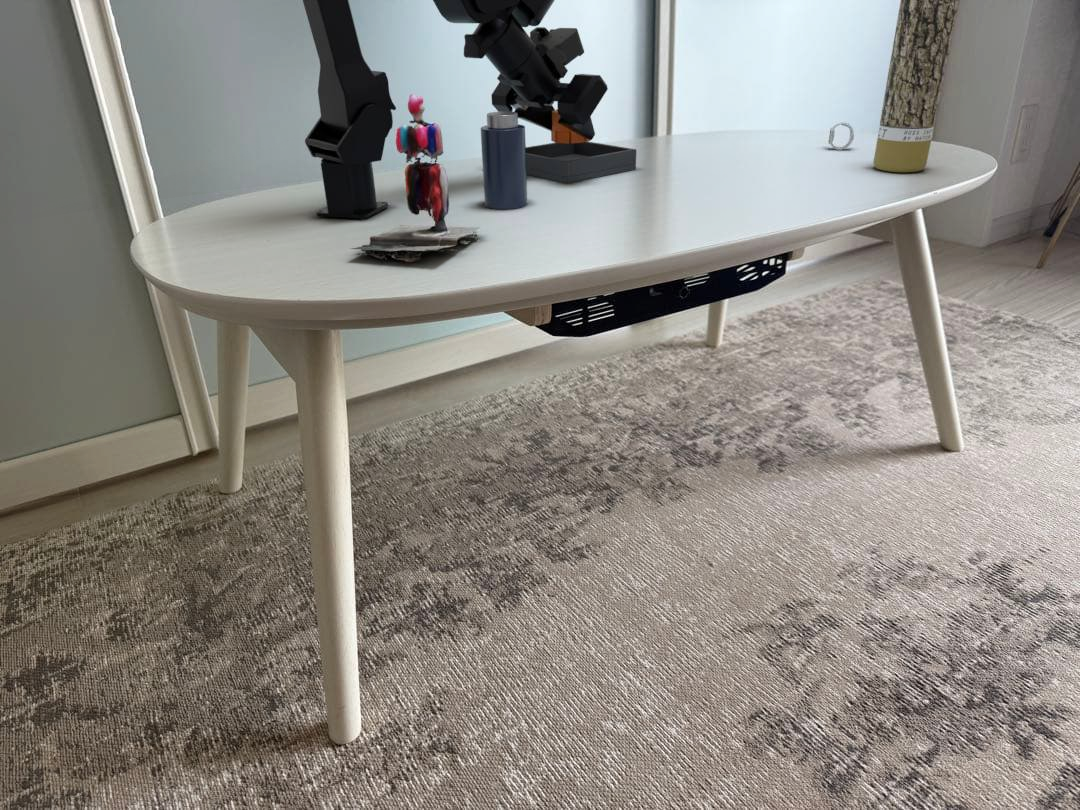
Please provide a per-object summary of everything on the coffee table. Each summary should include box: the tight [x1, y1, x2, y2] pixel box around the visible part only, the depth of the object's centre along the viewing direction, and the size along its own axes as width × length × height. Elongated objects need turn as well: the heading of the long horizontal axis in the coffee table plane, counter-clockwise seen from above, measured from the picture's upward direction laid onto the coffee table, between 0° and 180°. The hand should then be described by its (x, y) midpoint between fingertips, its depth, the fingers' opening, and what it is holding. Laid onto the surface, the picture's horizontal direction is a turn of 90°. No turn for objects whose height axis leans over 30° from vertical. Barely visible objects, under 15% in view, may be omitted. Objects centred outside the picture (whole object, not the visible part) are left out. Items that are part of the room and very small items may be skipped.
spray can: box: [480, 111, 528, 210], centre depth 93 cm, size 5×5×10 cm
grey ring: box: [828, 121, 855, 151], centre depth 122 cm, size 4×2×4 cm, turn 70°
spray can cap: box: [550, 108, 591, 144], centre depth 110 cm, size 5×5×4 cm
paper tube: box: [873, 0, 960, 174], centre depth 102 cm, size 7×7×25 cm
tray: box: [526, 141, 637, 184], centre depth 113 cm, size 13×13×3 cm
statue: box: [348, 94, 481, 263], centre depth 76 cm, size 11×9×15 cm
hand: (578, 135), depth 112 cm, fingers closed on spray can cap, 5 cm apart
